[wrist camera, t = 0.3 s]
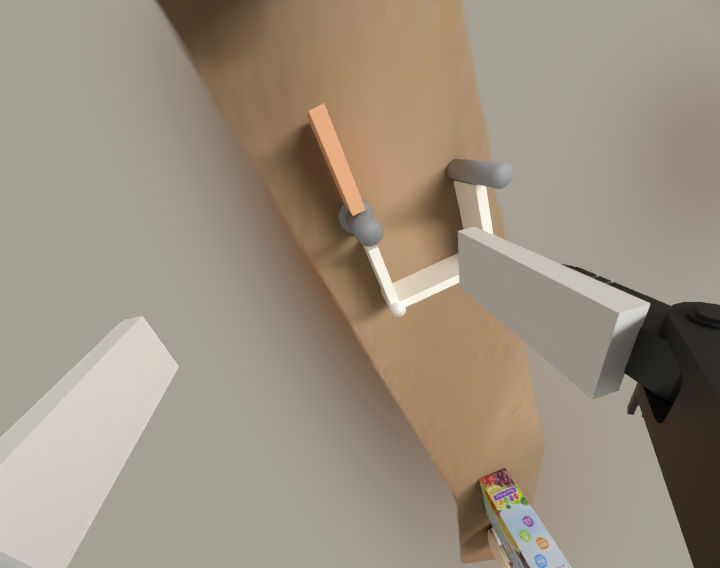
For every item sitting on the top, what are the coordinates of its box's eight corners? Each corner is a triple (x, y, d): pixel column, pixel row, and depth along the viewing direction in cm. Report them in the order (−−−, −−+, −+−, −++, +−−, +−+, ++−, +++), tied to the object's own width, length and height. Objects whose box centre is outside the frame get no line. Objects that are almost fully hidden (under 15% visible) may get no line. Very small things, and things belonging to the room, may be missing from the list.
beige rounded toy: (479, 526, 86) (504, 578, 76) (503, 515, 86) (531, 566, 76) (486, 538, 92) (510, 589, 82) (508, 528, 92) (535, 577, 81)
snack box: (510, 501, 82) (590, 634, 60) (484, 512, 82) (554, 650, 60) (507, 465, 72) (602, 610, 49) (477, 478, 72) (559, 629, 49)
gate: (371, 223, 34) (386, 239, 28) (351, 232, 34) (362, 251, 28) (325, 107, 28) (333, 96, 22) (301, 119, 28) (301, 111, 22)
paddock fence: (332, 207, 33) (342, 225, 25) (460, 147, 33) (510, 147, 25) (374, 300, 41) (392, 337, 33) (480, 251, 40) (523, 277, 33)
